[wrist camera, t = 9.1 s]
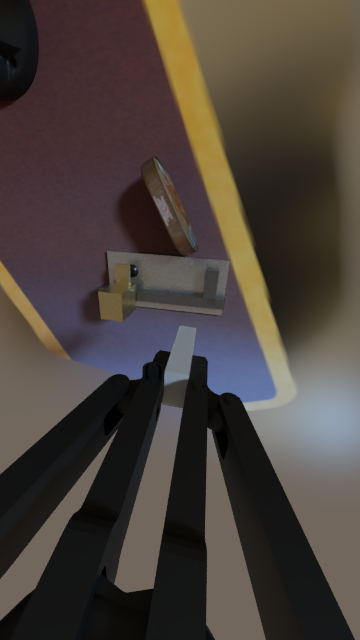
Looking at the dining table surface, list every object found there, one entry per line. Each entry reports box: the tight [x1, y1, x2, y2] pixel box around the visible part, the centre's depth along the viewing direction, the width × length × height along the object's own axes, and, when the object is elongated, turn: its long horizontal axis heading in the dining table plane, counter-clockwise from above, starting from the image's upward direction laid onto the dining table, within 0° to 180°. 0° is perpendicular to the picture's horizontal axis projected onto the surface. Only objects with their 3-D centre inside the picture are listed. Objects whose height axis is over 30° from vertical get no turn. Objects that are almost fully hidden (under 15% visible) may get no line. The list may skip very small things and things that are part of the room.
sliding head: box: [98, 263, 136, 322], centre depth 38 cm, size 9×4×9 cm, turn 176°
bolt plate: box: [107, 251, 230, 315], centre depth 42 cm, size 11×24×1 cm, turn 86°
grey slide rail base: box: [99, 269, 225, 310], centre depth 39 cm, size 8×24×5 cm, turn 86°
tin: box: [141, 155, 199, 256], centre depth 33 cm, size 15×3×8 cm, turn 26°
